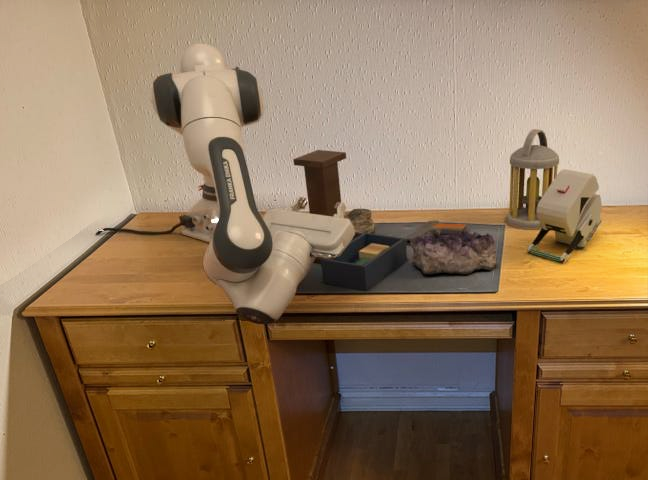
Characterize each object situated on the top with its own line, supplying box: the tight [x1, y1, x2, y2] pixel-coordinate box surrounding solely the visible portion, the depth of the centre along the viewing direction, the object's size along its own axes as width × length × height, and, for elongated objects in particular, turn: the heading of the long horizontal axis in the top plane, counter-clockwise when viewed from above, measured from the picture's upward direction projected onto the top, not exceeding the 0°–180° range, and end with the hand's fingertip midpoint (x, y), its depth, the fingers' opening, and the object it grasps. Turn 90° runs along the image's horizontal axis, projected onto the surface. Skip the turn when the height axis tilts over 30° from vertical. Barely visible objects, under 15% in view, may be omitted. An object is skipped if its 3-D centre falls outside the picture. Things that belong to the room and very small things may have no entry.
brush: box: [355, 243, 389, 265], centre depth 155 cm, size 15×5×4 cm, turn 154°
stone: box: [343, 208, 376, 241], centre depth 176 cm, size 14×10×10 cm
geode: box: [410, 230, 497, 275], centre depth 155 cm, size 20×12×10 cm, turn 96°
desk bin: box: [320, 233, 408, 292], centre depth 155 cm, size 12×20×6 cm, turn 154°
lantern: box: [505, 128, 560, 230], centre depth 180 cm, size 14×14×25 cm
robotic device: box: [526, 169, 603, 264], centre depth 163 cm, size 10×21×20 cm
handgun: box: [406, 219, 467, 246], centre depth 176 cm, size 2×16×12 cm
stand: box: [293, 149, 347, 264], centre depth 160 cm, size 8×10×25 cm
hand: (322, 201), depth 135 cm, fingers open, 8 cm apart
